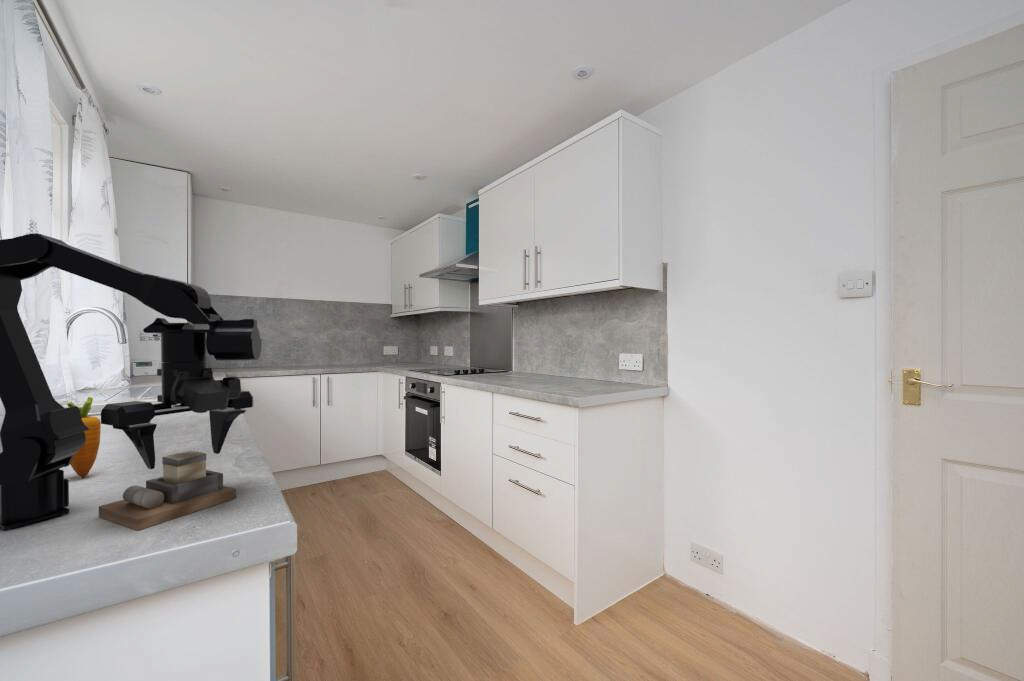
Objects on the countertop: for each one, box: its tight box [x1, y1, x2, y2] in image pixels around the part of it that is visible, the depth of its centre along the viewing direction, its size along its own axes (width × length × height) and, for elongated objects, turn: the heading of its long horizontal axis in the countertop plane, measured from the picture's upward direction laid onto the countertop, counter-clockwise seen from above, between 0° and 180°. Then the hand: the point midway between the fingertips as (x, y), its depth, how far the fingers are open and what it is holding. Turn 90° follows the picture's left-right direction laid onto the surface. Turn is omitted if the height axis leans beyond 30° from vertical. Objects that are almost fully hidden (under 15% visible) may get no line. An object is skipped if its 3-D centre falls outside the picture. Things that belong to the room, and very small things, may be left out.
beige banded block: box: [162, 450, 207, 485], centre depth 68 cm, size 4×4×6 cm
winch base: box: [98, 469, 237, 531], centre depth 66 cm, size 13×11×4 cm
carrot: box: [66, 396, 102, 478], centre depth 81 cm, size 5×5×15 cm
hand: (185, 460), depth 68 cm, fingers open, 9 cm apart
